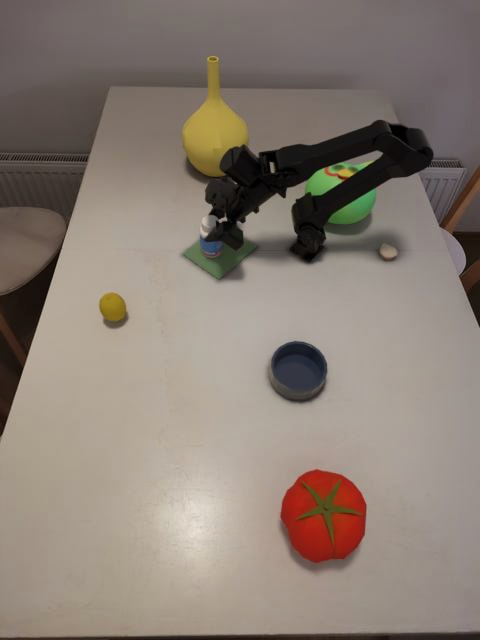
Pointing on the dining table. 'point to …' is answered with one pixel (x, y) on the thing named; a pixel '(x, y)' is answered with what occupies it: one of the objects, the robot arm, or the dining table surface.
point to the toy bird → (333, 177)
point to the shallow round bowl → (298, 370)
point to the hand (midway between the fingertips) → (205, 232)
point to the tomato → (324, 516)
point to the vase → (212, 128)
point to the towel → (218, 258)
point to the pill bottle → (207, 226)
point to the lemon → (112, 306)
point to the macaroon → (388, 252)
